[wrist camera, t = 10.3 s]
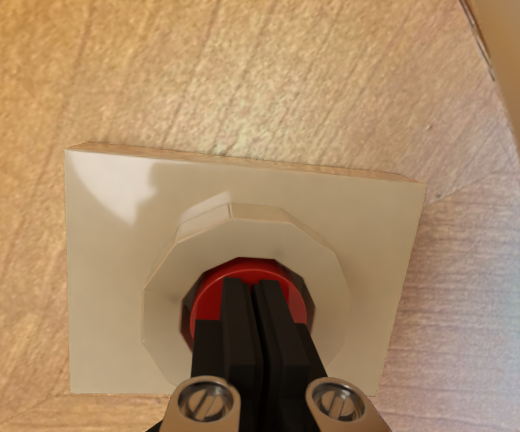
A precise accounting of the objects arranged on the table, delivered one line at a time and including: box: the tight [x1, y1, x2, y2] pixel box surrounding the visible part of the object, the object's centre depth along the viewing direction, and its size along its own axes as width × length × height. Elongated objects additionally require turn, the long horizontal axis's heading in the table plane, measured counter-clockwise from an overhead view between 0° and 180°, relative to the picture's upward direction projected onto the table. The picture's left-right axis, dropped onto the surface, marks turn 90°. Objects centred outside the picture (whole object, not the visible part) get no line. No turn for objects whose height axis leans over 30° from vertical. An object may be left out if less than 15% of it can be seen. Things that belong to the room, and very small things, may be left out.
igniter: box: [64, 142, 428, 397], centre depth 13 cm, size 12×9×4 cm
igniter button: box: [190, 257, 307, 341], centre depth 12 cm, size 4×4×2 cm
